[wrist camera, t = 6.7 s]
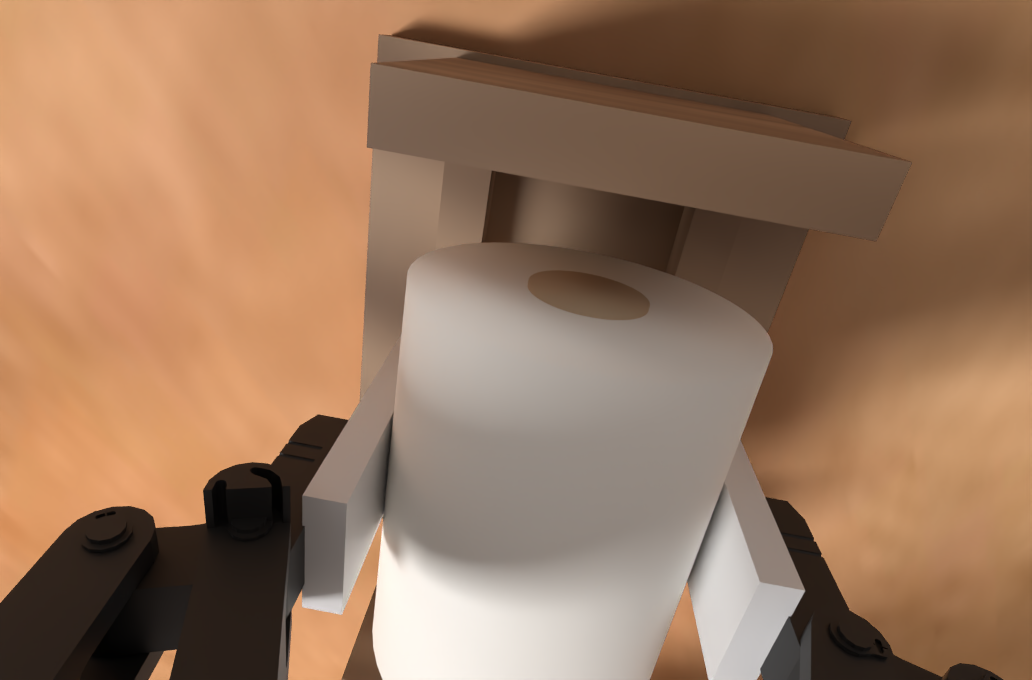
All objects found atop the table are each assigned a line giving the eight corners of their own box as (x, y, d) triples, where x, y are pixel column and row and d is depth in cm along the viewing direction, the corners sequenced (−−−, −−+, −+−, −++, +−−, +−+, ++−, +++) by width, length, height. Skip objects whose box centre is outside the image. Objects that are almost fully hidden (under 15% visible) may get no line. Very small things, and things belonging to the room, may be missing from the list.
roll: (444, 221, 15) (355, 324, 8) (720, 271, 15) (845, 413, 8) (409, 512, 18) (328, 740, 12) (631, 552, 18) (669, 801, 12)
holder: (389, 35, 16) (235, 22, 9) (835, 116, 16) (1056, 173, 8) (362, 494, 23) (266, 697, 16) (668, 552, 23) (711, 783, 16)
